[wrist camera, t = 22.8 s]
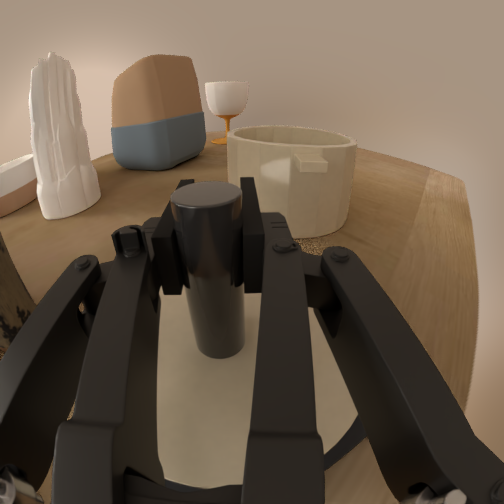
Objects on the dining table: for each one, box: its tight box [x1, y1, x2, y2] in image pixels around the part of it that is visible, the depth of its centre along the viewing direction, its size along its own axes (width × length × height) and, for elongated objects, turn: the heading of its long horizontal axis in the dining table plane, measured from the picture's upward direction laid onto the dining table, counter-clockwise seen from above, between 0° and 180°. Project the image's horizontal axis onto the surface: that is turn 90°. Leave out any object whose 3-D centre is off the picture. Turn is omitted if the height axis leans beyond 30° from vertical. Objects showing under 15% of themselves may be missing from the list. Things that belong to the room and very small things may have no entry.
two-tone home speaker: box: [111, 54, 206, 170], centre depth 50 cm, size 17×17×23 cm
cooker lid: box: [157, 181, 358, 489], centre depth 12 cm, size 16×16×9 cm
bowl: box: [0, 154, 38, 217], centre depth 40 cm, size 17×17×8 cm
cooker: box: [227, 125, 357, 238], centre depth 32 cm, size 15×20×10 cm
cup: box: [205, 81, 249, 144], centre depth 69 cm, size 12×12×17 cm
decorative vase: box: [29, 52, 101, 220], centre depth 31 cm, size 11×11×25 cm
